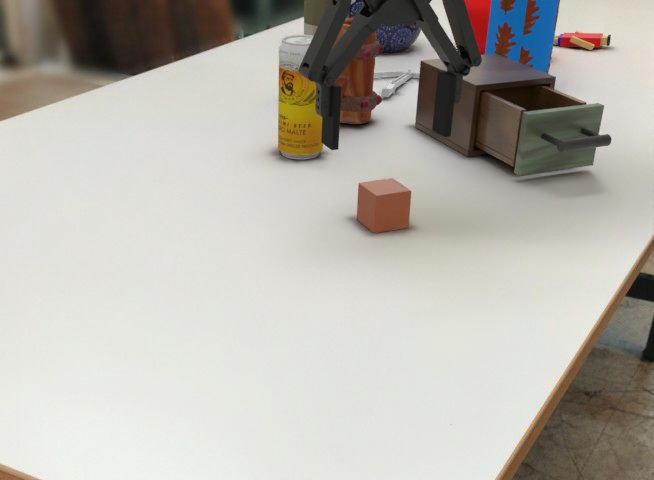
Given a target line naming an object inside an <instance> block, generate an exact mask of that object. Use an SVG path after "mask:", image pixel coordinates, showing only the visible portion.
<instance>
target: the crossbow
mask: <svg viewBox="0 0 654 480" xmlns="http://www.w3.org/2000/svg"><path fill="white" fill-rule="evenodd" d="M419 74H420V72H415V71H411V70H410V69H407V71H406V70H405V71H404V70H403V71H379V72H374V78H377V79H379V80H382V81H384V82H387V83H388V84H387V86H386V87H383V88H382V89H381V98H382V97H383V98H389V97H390V96H391V95H395V94H396V88H398V87H400V86H401V85H403V84H408V83H409V84H410V83H413V81H408V80H410V79H411V78H412V79H419ZM385 77H386V78H387V77H397V78H395V79H392V81H388V80H385V79H383V78H385Z"/></svg>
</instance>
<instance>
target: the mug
mask: <svg viewBox="0 0 654 480" xmlns="http://www.w3.org/2000/svg"><path fill="white" fill-rule="evenodd" d="M352 22H353V18H346V19H345V22H344V24H343V26H342V28H341V30H340V32H339V34H338V37H337V39H336V41H335V43H334V45H333V47H332V49H333V48H334V46H335V45H336V44H337V42H338V41H339V40H340V38H341V37H342V36H343V34H344V33H345V32H346V30H347V29H348V27H349V26H350V25H351V23H352ZM383 50H384V47H383V46H382V45H381V44H379V42H378V41H376V31H375V32H374V33H372V34H371V35H370V36H369V37H368V39H367V40H366V41H365V43H364V44H363V45H362V47H361V48H360V49H359V51H358V52H357V53H356V55H355V56H354V57H353V59H352V60H351V61H350V63H349V64H348V65H347V67H346V68H345V69H344V71H343V72H342V73H341V75H340V76H339V77H338V79H337V80H336V81H335V83H336V84H338V85H339V86H341V106H340V124H348V125H361V124H366V123H368V122H370V121H371V119H372V111H373V110H375V108H377V106H378V105H380V104H381V103H382V102H383V98H382V95H380V94H377V93H376V91H374V79H375V77H374V73H375V67H376V58H377V56H378V55H379V54H381V53H382V51H383ZM382 54H383V53H382Z"/></svg>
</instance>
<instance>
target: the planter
mask: <svg viewBox="0 0 654 480" xmlns="http://www.w3.org/2000/svg"><path fill="white" fill-rule="evenodd" d="M362 5H363V1H362V0H356V1H355V2H354V3H353V4H351V6H350V10H349V18H354V16H355V14H356V13H357V12H358V10H359V9H360V7H361V6H362ZM370 17H371V16H370ZM421 32H422V30H421V29H420V27H419V26H418V24H417V23H414V25H404V24H398V25H396V26H391V27H386V26H384V25H381V26H380V27H379V28H378V29H377V31H376V41H378V42H379V44H381V45H382V46H383V47H384V50H383V51H382V54H384V53H385V54H387V53H388V54H389V53H398V52H401V51H402V52H403V51H405V50H407V49H408V48H410V47H411V46H412V45H413V44H414V43H415V42H416V40H417V39H418V38H419V36H420V34H421Z"/></svg>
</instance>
